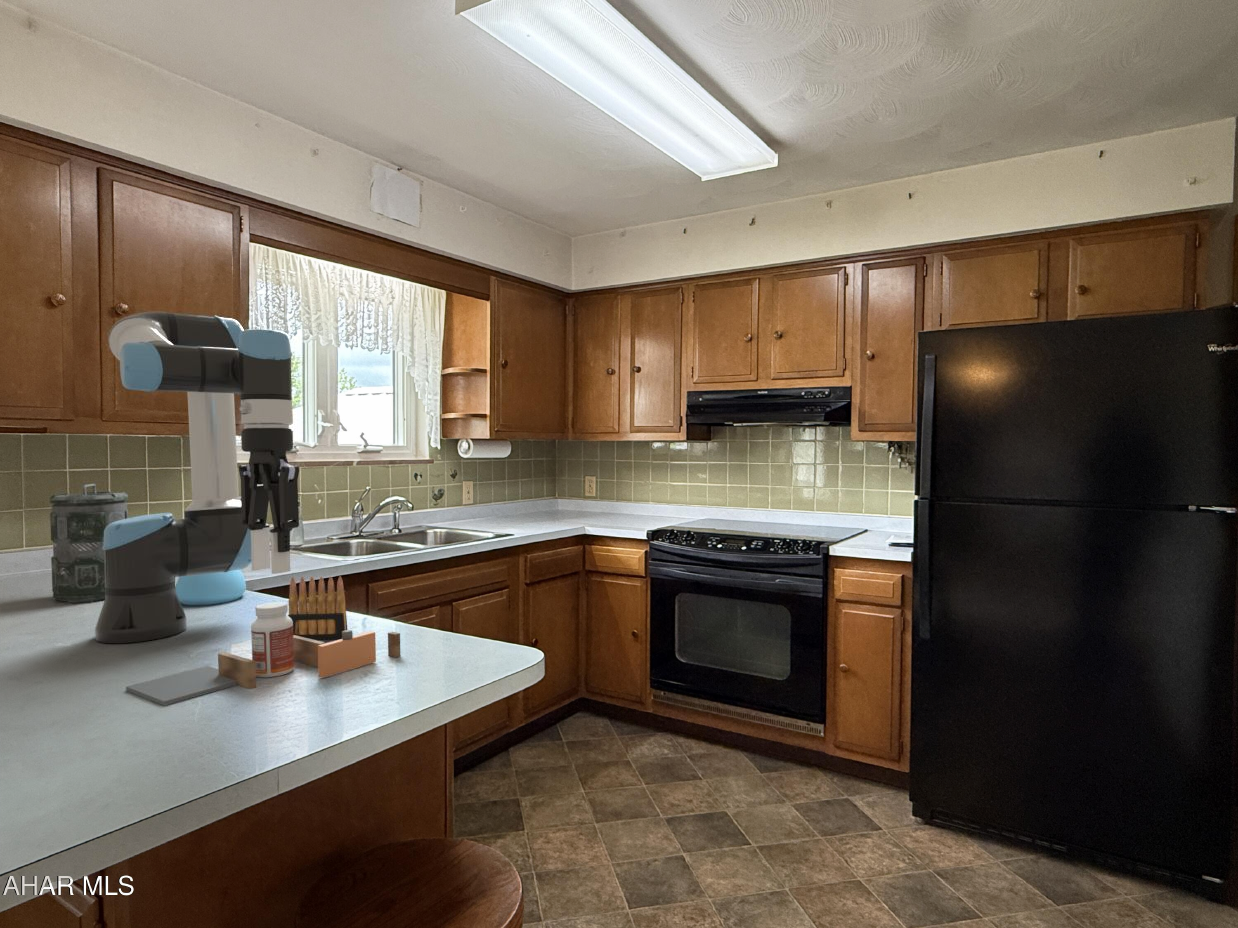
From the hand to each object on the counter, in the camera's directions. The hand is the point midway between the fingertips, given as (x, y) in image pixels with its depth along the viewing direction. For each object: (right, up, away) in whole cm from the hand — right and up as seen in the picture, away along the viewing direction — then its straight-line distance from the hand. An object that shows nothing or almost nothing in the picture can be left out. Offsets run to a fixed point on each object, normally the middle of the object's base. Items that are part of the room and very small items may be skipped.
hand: (270, 570), depth 118 cm
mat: (-10, -17, -6) cm, 21 cm away
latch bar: (+12, -17, +1) cm, 20 cm away
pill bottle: (0, -17, +1) cm, 17 cm away
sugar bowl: (-42, -16, +58) cm, 73 cm away
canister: (-74, -16, +62) cm, 98 cm away
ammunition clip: (-1, -16, +20) cm, 26 cm away
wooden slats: (+6, -17, +3) cm, 18 cm away
